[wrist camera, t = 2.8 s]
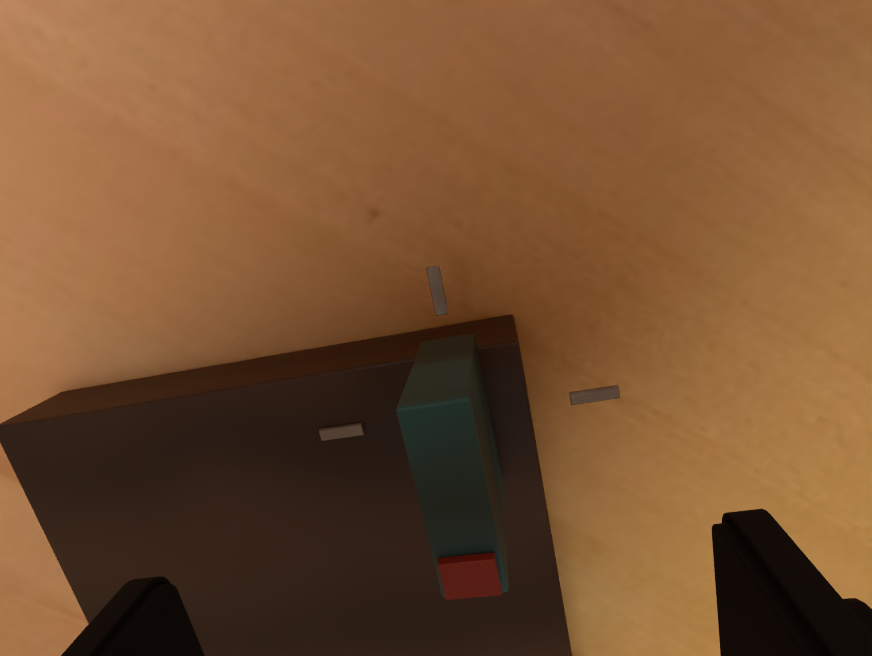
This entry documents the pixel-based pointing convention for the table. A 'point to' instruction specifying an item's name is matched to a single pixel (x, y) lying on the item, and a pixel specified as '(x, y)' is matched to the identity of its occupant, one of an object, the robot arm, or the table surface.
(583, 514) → the table surface
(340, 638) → the holder base
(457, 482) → the teal long angular block
